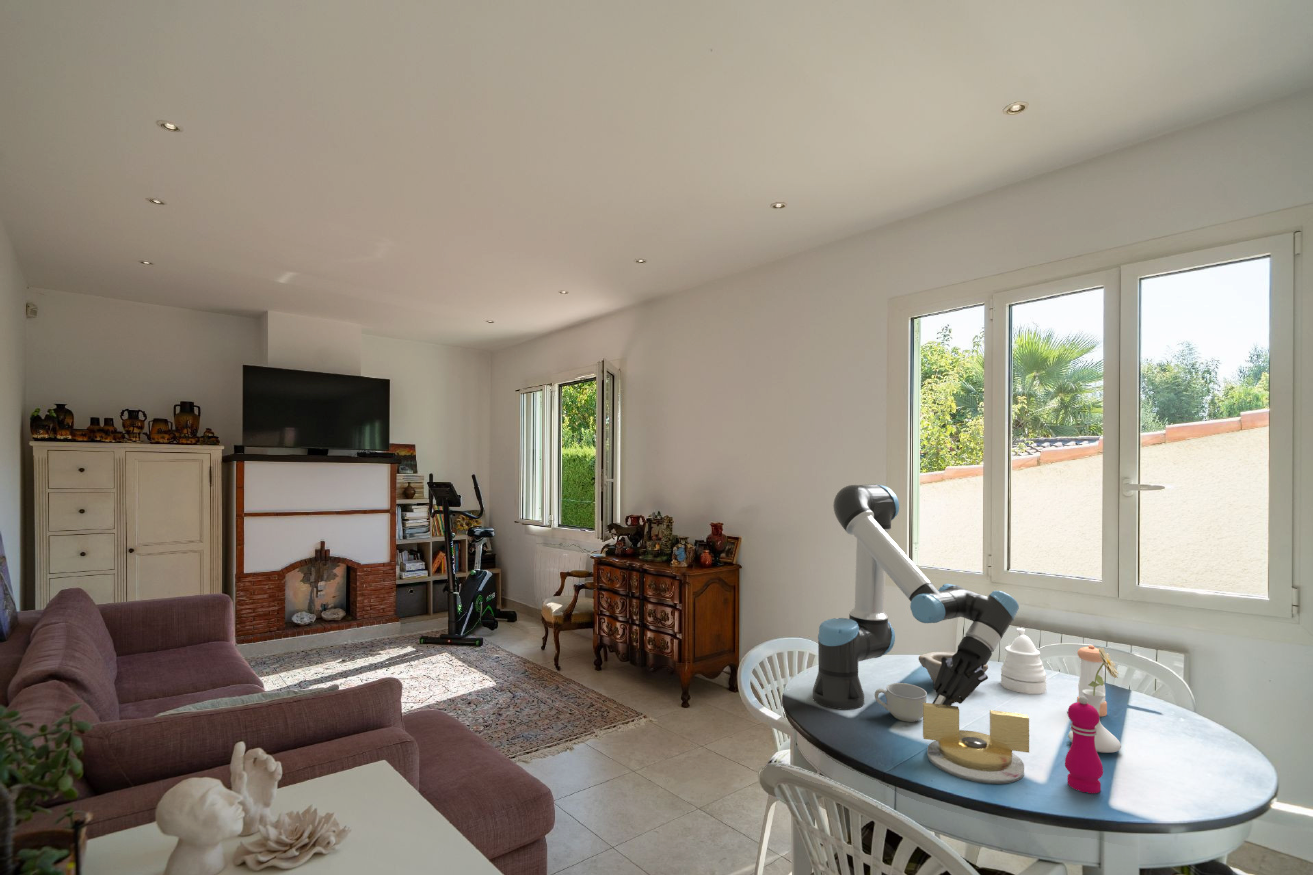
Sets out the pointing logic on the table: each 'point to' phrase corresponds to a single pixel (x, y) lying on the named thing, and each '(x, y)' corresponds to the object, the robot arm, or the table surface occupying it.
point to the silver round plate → (975, 774)
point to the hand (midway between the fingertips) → (931, 720)
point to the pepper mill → (1083, 748)
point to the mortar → (936, 662)
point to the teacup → (903, 701)
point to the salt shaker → (1091, 674)
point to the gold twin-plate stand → (976, 737)
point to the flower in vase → (1104, 738)
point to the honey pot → (1023, 667)
